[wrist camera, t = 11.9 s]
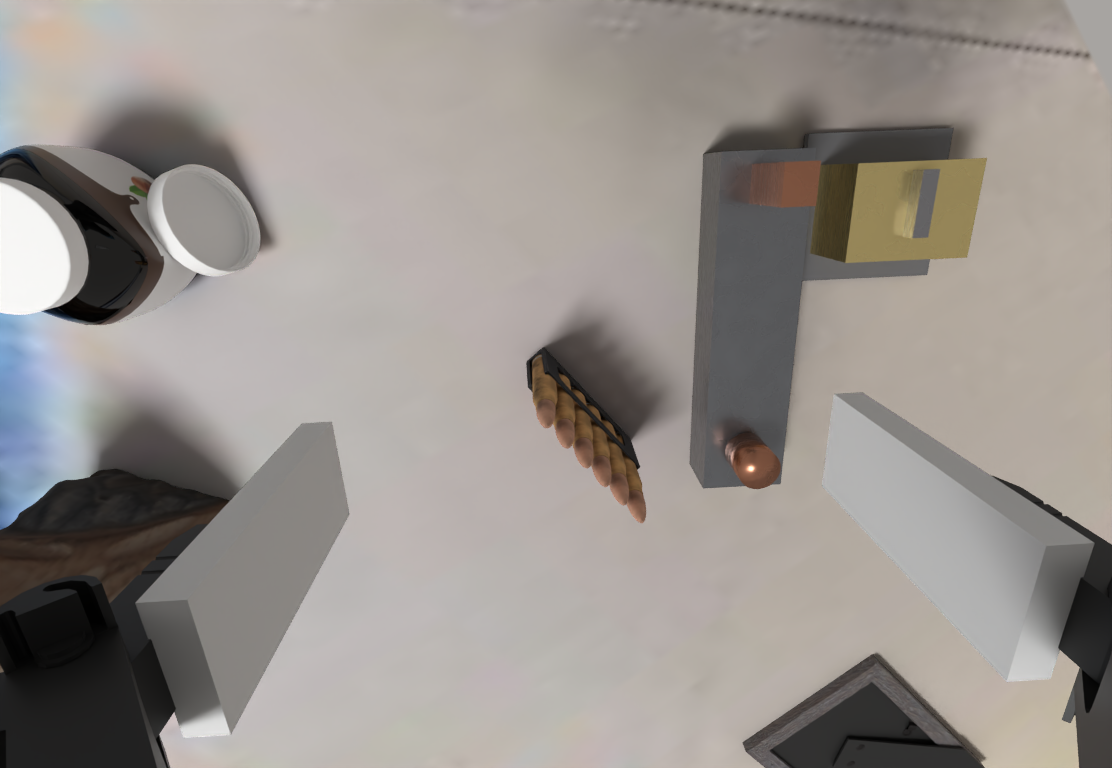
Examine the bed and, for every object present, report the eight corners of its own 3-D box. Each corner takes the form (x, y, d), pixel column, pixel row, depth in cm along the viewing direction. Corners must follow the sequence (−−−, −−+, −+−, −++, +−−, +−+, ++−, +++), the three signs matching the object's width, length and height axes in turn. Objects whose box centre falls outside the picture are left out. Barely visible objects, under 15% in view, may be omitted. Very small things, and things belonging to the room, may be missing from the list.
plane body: (703, 153, 40) (750, 147, 31) (789, 150, 40) (858, 143, 31) (689, 463, 48) (723, 525, 39) (760, 459, 48) (810, 520, 40)
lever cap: (819, 165, 40) (867, 163, 34) (933, 160, 40) (999, 157, 34) (810, 253, 42) (853, 265, 36) (918, 248, 42) (978, 259, 36)
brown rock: (188, 611, 51) (-13, 866, 32) (41, 546, 48) (-274, 783, 29) (248, 506, 48) (64, 722, 29) (95, 430, 45) (-220, 614, 26)
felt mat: (804, 134, 40) (809, 133, 39) (947, 128, 40) (953, 127, 39) (790, 279, 43) (794, 281, 42) (921, 273, 43) (927, 274, 43)
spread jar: (46, 211, 39) (-141, 224, 28) (146, 89, 37) (-15, 53, 26) (193, 337, 43) (77, 392, 32) (294, 232, 40) (205, 252, 29)
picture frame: (975, 755, 62) (869, 650, 56) (989, 773, 60) (880, 666, 54) (852, 830, 65) (740, 737, 60) (862, 849, 63) (747, 755, 58)
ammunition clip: (631, 439, 47) (663, 522, 36) (614, 453, 47) (640, 540, 36) (543, 346, 44) (547, 405, 33) (525, 362, 44) (523, 425, 33)
